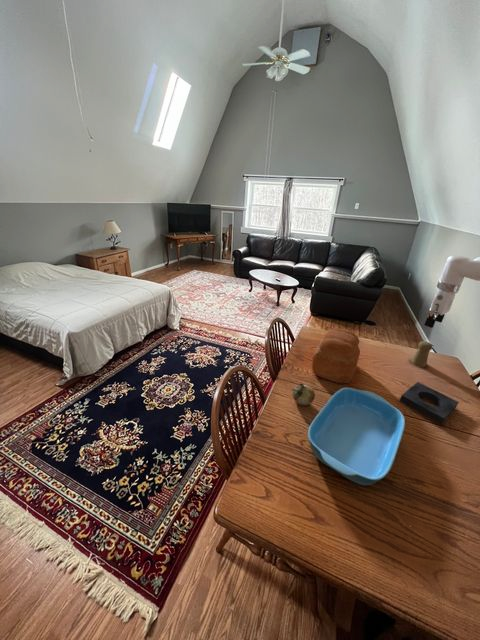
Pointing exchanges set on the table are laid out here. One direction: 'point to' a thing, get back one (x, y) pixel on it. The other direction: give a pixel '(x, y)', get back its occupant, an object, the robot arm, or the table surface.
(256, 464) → the table surface
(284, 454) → the table surface
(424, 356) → the cork
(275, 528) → the table surface
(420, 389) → the socket pad
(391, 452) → the casserole dish
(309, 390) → the onion
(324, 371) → the bread
